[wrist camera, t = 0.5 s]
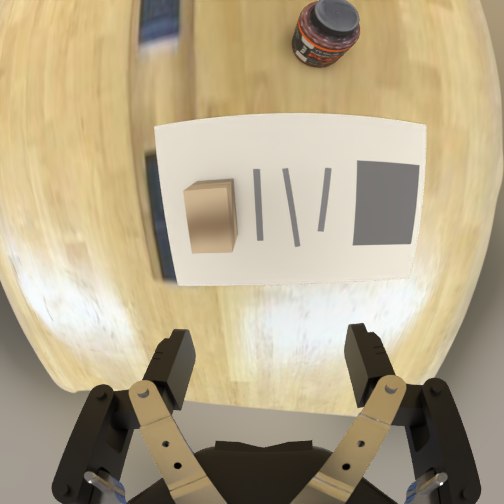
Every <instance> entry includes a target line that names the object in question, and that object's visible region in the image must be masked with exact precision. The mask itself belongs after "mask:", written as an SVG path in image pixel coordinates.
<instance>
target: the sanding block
mask: <svg viewBox="0 0 504 504" xmlns="http://www.w3.org/2000/svg"><path fill="white" fill-rule="evenodd" d="M183 194H184V202H185V210H186V217H187V224H188V231H189V238H190V244H191V251H192V254H195V253H230V252H233V249H234V245H235V242H236V239H237V235H238V229H237V217H236V204H235V191H234V178H233V179H218V180H205V181H196V182H195V183H193V184H192V185H191V186H189V187H188V188H186V189H185V190H184V191H183Z"/></svg>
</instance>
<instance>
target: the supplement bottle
mask: <svg viewBox="0 0 504 504" xmlns="http://www.w3.org/2000/svg"><path fill="white" fill-rule="evenodd" d="M359 35H360V25H359V14H358V12H357V10H356V9H355V7H354V6H353V5H352V4H350V3H349V2H347V1H346V0H319V1H316V2H313V3H311V4H309V5H307V6H306V7H305V8H304V9H303V10H302V12H301V14H300V16H299V20H298V23H297V26H296V29H295V33H294V36H293V40H292V48H293V51H294V53H295V54H296V56H297V57H298V58H299V59H300V60H301V61H302V62H304V63H305V64H308V65H310V66H314V67H326V66H329V65H331V64H333V63H334V62H336V61H337V60H338V59H339V58H340V57H341V56H342V55H343V54H344V53H345V52H346V51H347V50H349V49H350V48H351V47H352V46H353V45H354V44H355V43H356V41H357V40H358V38H359Z"/></svg>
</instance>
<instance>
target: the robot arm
mask: <svg viewBox="0 0 504 504" xmlns="http://www.w3.org/2000/svg"><path fill="white" fill-rule="evenodd" d="M344 354H345V360H346V363H347V367H348V371H349V375H350V379H351V383H352V387H353V391H354V395H355V399H356V403H357V408H360V407H364V408H363V410H362V411H361V413H359V415H358V416H357V417H356V419H355V421H354V422H353V424H352V425H351V427H350V429H349V430H348V432H347V433H346V435H345V436H344V438H343V439H342V441H341V442H340V443H339V445H338V446H337V448H336V449H335V451H334V452H331V451H329V450H327V449H324V448H321V447H316V446H312V440H311V441H297V442H286V443H282V444H279V445H274V446H270V447H265V448H262V447H257V446H253V445H249V444H245V443H241V442H226V441H216V443H215V447H210V448H205V449H202V450H200V451H198V452H196V453H194V452H193V451H192V449H191V448H190V446H189V445H188V443H187V442H186V440H185V438H184V436H183V435H182V433H181V431H180V429H179V428H178V426H177V424H176V422H175V421H174V419H173V417H172V413H173V410H181V408H182V405H183V401H184V398H185V394H186V391H187V387H188V384H189V381H190V377H191V374H192V370H193V367H194V364H195V358H196V354H195V349H194V345H193V342H192V338H191V335H190V332H189V330H187V329H174V330H173V332H172V334H171V336H170V338H165V339H164V340H162V341H161V342H160V343H159V344H158V346H157V348H156V350H155V353H154V355H153V357H152V359H151V361H150V364H149V366H148V368H147V370H146V373H145V375H144V377H143V379H142V381H138V382H136V383H134V384H133V385H132V386H131V388H130V389H129V390H122V391H113V389H112V388H111V387H110V386H108V385H105V384H102V385H98V386H96V387H94V388H93V389H92V390H91V392H90V394H89V396H88V398H87V400H86V402H85V404H84V406H83V408H82V411H81V413H80V415H79V417H78V420H77V422H76V424H75V427H74V429H73V431H72V433H71V436H70V438H69V441H68V443H67V446H66V448H65V451H64V453H63V456H62V458H61V461H60V464H59V467H58V469H57V472H56V475H55V477H54V481H53V483H52V493H53V496H54V497H55V499H57V501H59V502H61V503H62V504H398V503H397V502H395V501H394V500H393V499H391V498H390V497H388V496H387V495H386V494H384V493H383V492H382V491H380V490H379V489H378V488H376V487H375V486H374V485H373V484H371V483H370V482H369V481H367V480H366V479H365V478H364V477H363V475H364V474H365V472H366V470H367V469H368V467H369V465H370V463H371V462H372V460H373V459H374V457H375V455H376V453H377V452H378V450H379V448H380V446H381V444H382V442H383V441H384V439H385V437H386V435H387V433H388V431H389V429H390V426H391V425H396V426H405V430H406V435H407V439H408V444H409V448H410V453H411V458H412V463H413V469H414V474H415V480H416V481H415V482H413V483H412V484H411V485H410V486H409V488H408V490H407V493H406V501H405V503H404V504H475V503H476V502H477V500H478V499H479V497H480V494H481V485H480V480H479V476H478V472H477V468H476V464H475V461H474V457H473V454H472V450H471V447H470V444H469V441H468V438H467V435H466V431H465V429H464V426H463V423H462V420H461V417H460V415H459V412H458V409H457V407H456V404H455V402H454V399H453V397H452V394H451V392H450V389H449V387H448V385H447V384H446V382H445V381H443V380H441V379H439V378H431V379H428V380H427V381H426V382H425V383H424V385H411V384H406V383H405V382H404V380H403V379H402V378H400V377H398V376H396V375H395V372H394V370H393V367H392V365H391V363H390V360H389V358H388V355H387V353H386V351H385V348H384V347H383V344H382V341H381V339H380V338H379V337H378V336H377V335H376V334H375V333H374V332H367V330H366V327H365V325H364V323H359V324H349V325H348V329H347V335H346V341H345V347H344ZM134 429H140V431H141V433H142V435H143V438H144V440H145V442H146V444H147V447H148V449H149V451H150V453H151V455H152V457H153V459H154V462H155V464H156V465H157V467H158V469H159V471H160V473H161V475H162V477H163V478H161V479H160V480H158V481H157V482H156V483H154V484H153V485H152V486H150V487H149V488H147V489H146V490H144V491H143V492H141V493H140V494H138V495H137V496H135V497H134V498H132V499H131V500H129V501H128V502H126V499H125V489H124V486H123V485H122V484H121V483H120V482H119V480H120V477H121V473H122V470H123V466H124V462H125V458H126V455H127V451H128V448H129V444H130V441H131V438H132V434H133V431H134Z"/></svg>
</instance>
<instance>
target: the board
mask: <svg viewBox="0 0 504 504" xmlns="http://www.w3.org/2000/svg"><path fill="white" fill-rule="evenodd" d="M154 131H155V142H156V152H157V161H158V169H159V177H160V185H161V192H162V199H163V206H164V213H165V219H166V225H167V231H168V237H169V242H170V248H171V253H172V258H173V263H174V268H175V273H176V278H177V283H178V286H240V285H286V284H315V283H338V282H357V281H375V280H391V279H405V278H410V275H411V270H412V265H413V261H414V255H415V250H416V245H417V239H418V233H419V226H420V219H421V211H422V203H423V193H424V181H425V165H426V125H424V124H419V123H413V122H407V121H400V120H393V119H386V118H377V117H368V116H356V115H343V114H322V113H271V114H250V115H235V116H224V117H214V118H205V119H197V120H190V121H183V122H177V123H171V124H165V125H159V126H154ZM233 178H234V191H235V204H236V217H237V229H238V235H237V239H236V242H235V245H234V249H233V252H230V253H195V254H192V251H191V244H190V238H189V231H188V224H187V217H186V210H185V202H184V194H183V191H184V190H185V189H186V188H188V187H189V186H191V185H192V184H193V183H195V182H196V181H205V180H218V179H233Z"/></svg>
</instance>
